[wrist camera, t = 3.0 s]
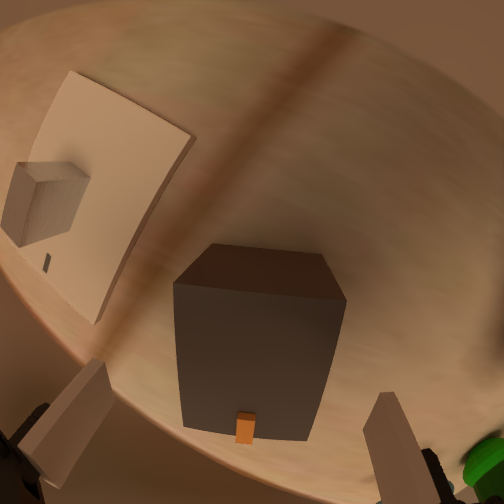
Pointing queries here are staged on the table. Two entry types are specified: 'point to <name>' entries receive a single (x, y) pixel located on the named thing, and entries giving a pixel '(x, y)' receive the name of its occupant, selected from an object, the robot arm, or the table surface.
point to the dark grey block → (255, 340)
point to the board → (89, 190)
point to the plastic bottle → (486, 469)
